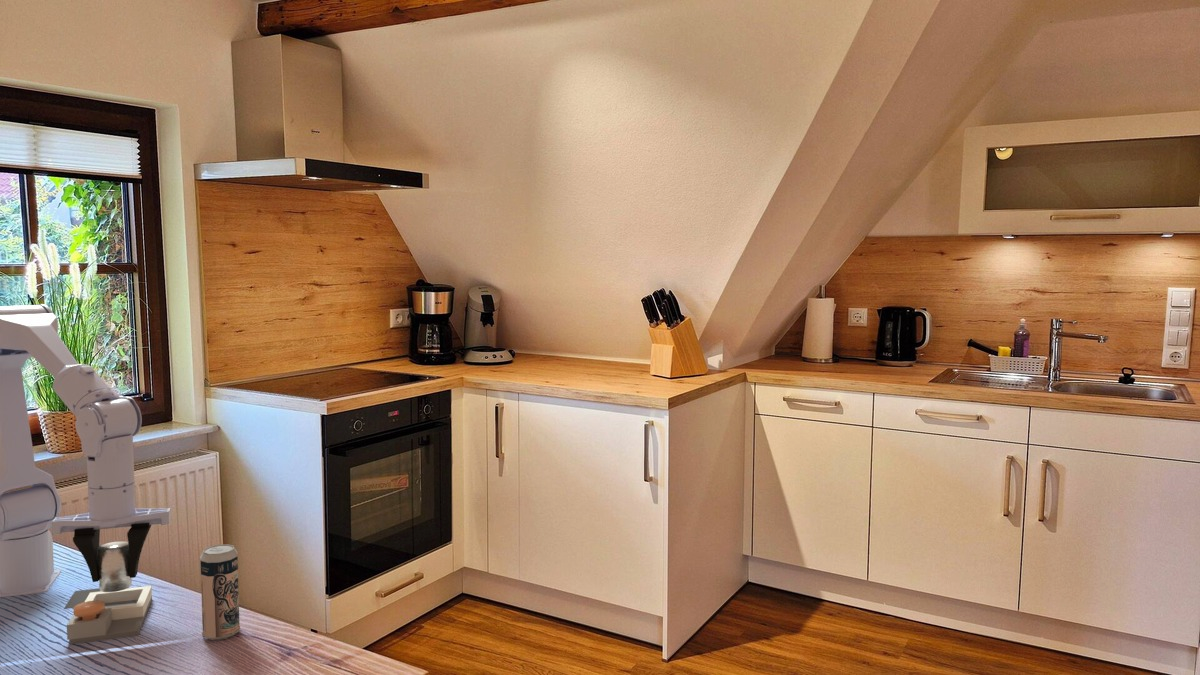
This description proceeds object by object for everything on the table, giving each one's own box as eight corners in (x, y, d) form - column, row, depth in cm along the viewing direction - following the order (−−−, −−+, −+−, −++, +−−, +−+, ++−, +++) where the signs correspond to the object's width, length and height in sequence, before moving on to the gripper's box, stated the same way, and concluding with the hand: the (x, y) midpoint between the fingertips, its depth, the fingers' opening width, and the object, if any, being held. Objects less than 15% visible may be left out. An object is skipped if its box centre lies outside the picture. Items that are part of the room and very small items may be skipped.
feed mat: (75, 593, 128) (75, 590, 128) (126, 587, 131) (126, 585, 131) (63, 611, 122) (63, 608, 122) (118, 604, 124) (118, 602, 124)
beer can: (225, 643, 112) (223, 556, 111) (194, 640, 113) (191, 553, 112) (247, 628, 116) (245, 544, 115) (217, 625, 117) (214, 542, 116)
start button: (77, 625, 114) (76, 602, 114) (107, 621, 115) (107, 599, 115) (71, 636, 111) (70, 612, 110) (102, 632, 112) (101, 609, 112)
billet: (102, 583, 121) (100, 543, 120) (133, 580, 122) (132, 540, 122) (96, 593, 117) (94, 551, 117) (129, 590, 119) (127, 548, 118)
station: (89, 609, 122) (88, 589, 122) (152, 601, 125) (151, 582, 125) (67, 647, 110) (66, 625, 110) (137, 638, 113) (137, 616, 113)
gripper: (44, 495, 112) (48, 594, 113) (164, 486, 117) (168, 580, 118) (57, 483, 119) (61, 576, 120) (171, 475, 124) (174, 564, 125)
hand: (115, 577), depth 120 cm, fingers closed on billet, 4 cm apart
